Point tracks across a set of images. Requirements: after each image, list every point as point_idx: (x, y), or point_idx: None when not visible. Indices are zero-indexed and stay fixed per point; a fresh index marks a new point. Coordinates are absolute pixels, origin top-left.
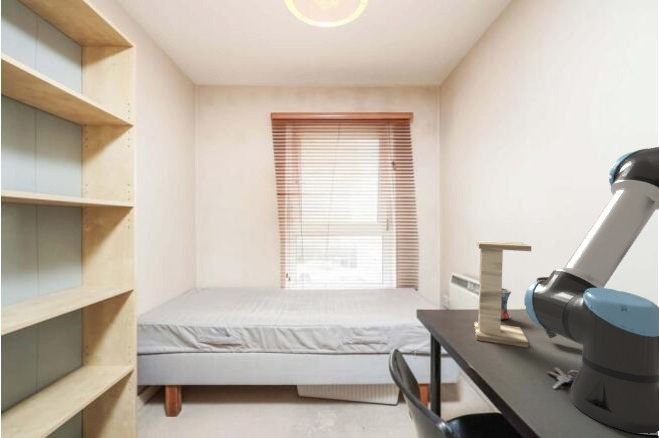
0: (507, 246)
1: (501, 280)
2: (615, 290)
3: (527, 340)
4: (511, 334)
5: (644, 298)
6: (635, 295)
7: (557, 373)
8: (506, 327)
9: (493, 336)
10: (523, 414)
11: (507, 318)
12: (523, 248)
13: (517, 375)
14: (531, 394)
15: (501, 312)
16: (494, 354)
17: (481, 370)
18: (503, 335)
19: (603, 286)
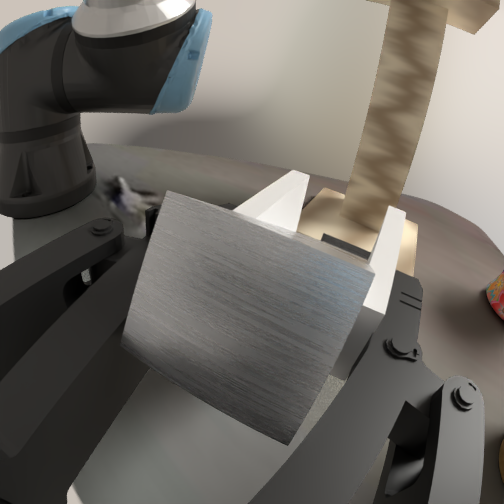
0: None
1: (376, 74)
2: (51, 9)
3: (299, 232)
4: (342, 230)
5: (12, 22)
6: (24, 17)
7: (148, 202)
8: (399, 252)
9: (320, 200)
10: (105, 144)
11: (501, 317)
12: None
13: (168, 169)
14: (124, 159)
15: (502, 287)
16: (248, 183)
17: (197, 155)
18: (330, 215)
19: (83, 2)
